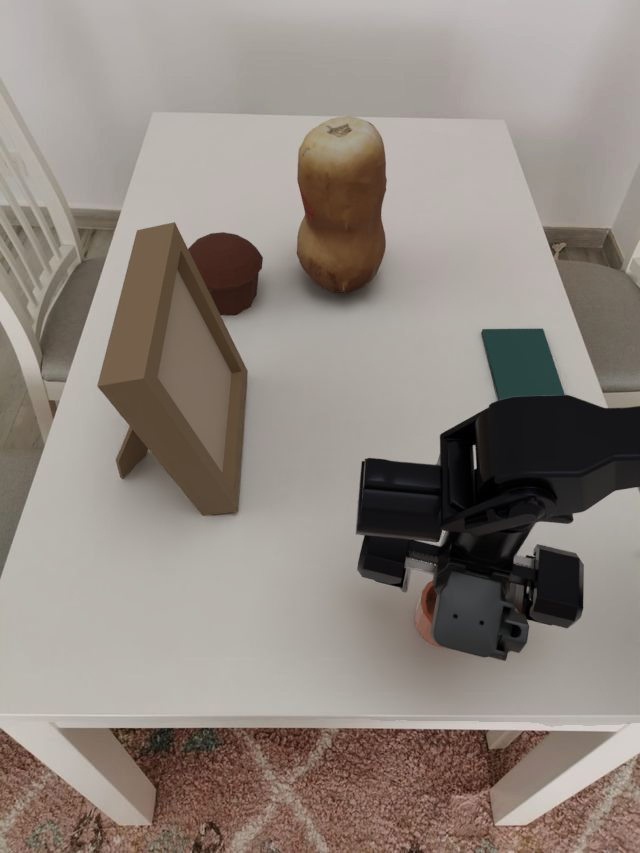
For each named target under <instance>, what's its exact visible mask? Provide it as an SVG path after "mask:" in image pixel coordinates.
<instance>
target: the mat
mask: <svg viewBox="0 0 640 853" xmlns="http://www.w3.org/2000/svg"><path fill="white" fill-rule="evenodd" d="M481 338H482V341H483V346H484V349H485V353H486V357H487V362H488V366H489V369H490V374H491V378H492V383H493V386H494V390H495V395H496V398H497V401H498V400H500V399H505V398H509V397H514V396H540V395H566V393H565V391H564V388H563V385H562V382H561V379H560V375H559V373H558V370H557V367H556V364H555V361H554V358H553V354H552V351H551V349H550V346H549V343H548V340H547V337H546V333H545V330H544V328H482V329H481Z"/></svg>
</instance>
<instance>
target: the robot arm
mask: <svg viewBox="0 0 640 853" xmlns="http://www.w3.org/2000/svg"><path fill="white" fill-rule="evenodd" d="M474 447H475V451H474ZM474 452H475V455H474ZM475 463H476V464H475ZM475 465H476V467H475ZM359 474H360V475H359V485H358V496H357V509H356V520H355V521H356V523H355V535H357V536H363V540H362V543H361V548H360V551H359V555H358V556H359V557H358V561H357V568H356V570H357V572H358V573H359V575H360V576H361V578H364V579H369V580H372V581H374V582H376V583H380V584H383V585H388V586H392V587H396V588H399V590H400V591H401V592H402V593H404V594H406V593H407V592H408V590H409V585H410V579H411V573H412V570H414V571H417V572H422V573H426V574H430V575H433V578H432V580H433V583H432V585H435V589H434V590H435V592H436V593H437V598H436V604H435V609H434V614H433V619H432V624H431V629H430V635H431V638H432V640H433V641H434V642H435V643H437V644H438V645H440V646H442V647H441V648H446V649H450V650H454V651H457V652H461V653H465V654H469V655H473V656H476V657H480V658H491V659H495V660H499V661H504V662H506V661H507V658H508V654H509V653H510V652H513V653H516V654H519V653H521V652H522V651H523V649H524V648H525V646H526V645H527V643H528V638H529V631H530V624H529V621H530V622H535V623H539V624H543V625H547V626H555V627H559V628H563V629H569V628H570V627H572V626H573V625H575V624H576V623H577V622H578V621H579V620H580V619H581V618H582V615H583V611H584V597H585V596H584V592H585V589H584V588H585V583H584V582H585V581H584V580H585V564H584V563H583V561H582V560H581V558H580V557H579V555H578V554H577V553H576V552H573V551H569V550H564V549H560V548H555V547H553V546H547V545H543V544H538V543H537V544H536V545H535V547H534V548H533V551H532V552H533V554H532V555H529V554H526V555H525V556H522V555H517V554H518V553H519V551H520V550H521V548H522V546H523V545H524V543H525V541H526V540H527V538H528V537H529V536H530V533H531V532H532V530H533V529H534V527H535V525H536V524H537V523H541V522H542V523H543V522H544V523H553V524H563V525H567V524H568V525H569V524H572V523H573V522H574V515H573V514H580V513H584V512H586V511H588V510H589V509H591V508H592V507H593V506H595V505H596V504H598V503H599V502H601V501H602V500H604V499H605V498H607V497H608V496H610V495H611V494H612V493H614V492H616V491H622V490H623V491H624V490H628V489H634V488H640V405H635V406H626V407H603V406H601V405H598V404H596V403H593V402H591V401H590V402H589V401H587V400H584V399H582V398H578V397H575V396H573V395H570V394H565V395H540V396H514V397H509V398H505V399H500V400H498V399H497V400H495V401H494V402H491V403H490V404H489V405H488V407H486V408H485V409H483V410H481V411H479V412H478V413H475V414H474V415H472V416H470V417H468V418H467V419H465V420H463V421H462V422H460V423H458V424H456V425H454V426H452V427H450V428H448V429H447V430H445V431H443V432H442V433H440V434H439V454H438V457H437V461H436V463H434V464H433V463H422V462H412V461H411V462H408V461H398V460H390V459H385V458H377V457H376V458H375V457H368V458H364V460H361V465H360V473H359ZM443 531H444V533H443ZM442 534H443V536H442ZM441 537H442V539H441ZM440 540H441V542H440V544H439V545H436V544H431V543H428V542H432V543H439V541H440Z"/></svg>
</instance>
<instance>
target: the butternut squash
mask: <svg viewBox="0 0 640 853" xmlns="http://www.w3.org/2000/svg"><path fill="white" fill-rule="evenodd" d="M297 154H298V155H297V177H296V180H297V184H298V189H299V193H300V198H301V202H302V205H303V206H302V207H303V210H304V216H303V218H302V220H301V222H300V225H299V228H298V231H297V237H296V239H297V240H296V256H297V258H298V261H299V264H300V266H301V268H302V269H303V271H304V272H305V274H306V275H307V276H308V277H309V278H310V279H311V281H312V282H315V284H317V285H318V286H319V287H320V288H321V289H324V290H326V291H329V292H331V293H335V294H336V293H344V294H347V295H349V294H351V293H354V292H356V291H359V290H361V289H363V288H365V287H366V286H367V285H368V284H369V283H371V281H372V280H373V279H374V277H375V276H376V275H377V273H378V272H379V269H380V267H381V265H382V261H383V260H384V257H385V253H386V248H387V239H386V231H385V229H384V223H383V218H382V208H383V204H384V203H383V202H384V200H385V196H386V192H387V181H388V179H387V167H386V166H387V161H386V160H387V159H386V151H385V143H384V141H383V137H382V135H381V133H380V131H379V130H378V129H377V128H376V126H375V125H374V124H373V123H371V122H370V121H367V120H365V119H363V118H360V117H355V116H339V117H334V118H330V119H327V120H325V121H324V122H322V123H320V124H319V125H317V126H315V127H314V128H312V129H311V130H310V131H308V133H307V134H305V136H304V138H303V141H302V143H301V144H300V146H299V148H298V152H297Z"/></svg>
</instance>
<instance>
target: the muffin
mask: <svg viewBox="0 0 640 853" xmlns="http://www.w3.org/2000/svg"><path fill="white" fill-rule="evenodd" d="M187 248H188V250H189V252H190V254H191V256H192V258H193V260H194V262H195V264H196V266H197V268H198V270H199V273H200V275H201V277H202V279H203V281H204V283H205V285H206V287H207V289H208V291H209V293H210V295H211V297H212V299H213V301H214V303H215V305H216V307H217V309H218V311H219V313H220V315H221V317H222V316H237V315H239V314H240V313H242V312H244V311H246V310H247V309H249V308H252V305H253V302H254V300H255V298H256V297H257V294H258V293H257V292H258V284H259V274H260V272H261V271H262V269H263V262H264V256H263V255H262V254H261V252H260V250H259V249H258V247H257V246H255V245H254V244H253V243H252V242H251V241H249V240H248V239H246V238H244V237H242V236H241V235H238V234H237V233H230V232H224V231H221V232H212V233H209V234H206V235H203V236H201V237H199V238H197V239H196V240H195V241H194V242H193V243H192V244H191V245H190V246H189V247H187Z"/></svg>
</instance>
